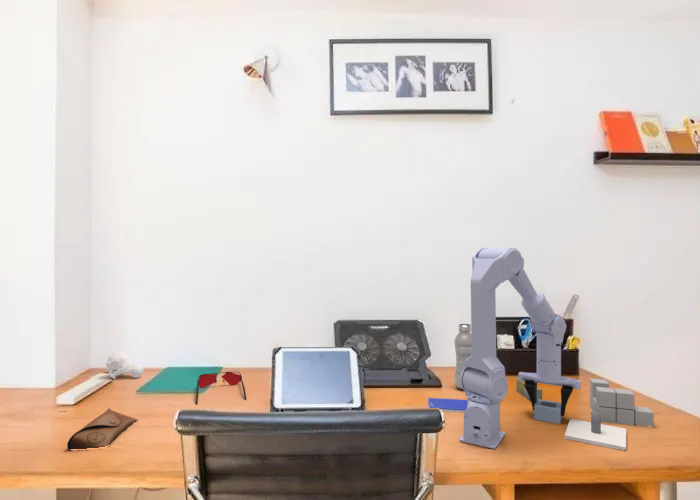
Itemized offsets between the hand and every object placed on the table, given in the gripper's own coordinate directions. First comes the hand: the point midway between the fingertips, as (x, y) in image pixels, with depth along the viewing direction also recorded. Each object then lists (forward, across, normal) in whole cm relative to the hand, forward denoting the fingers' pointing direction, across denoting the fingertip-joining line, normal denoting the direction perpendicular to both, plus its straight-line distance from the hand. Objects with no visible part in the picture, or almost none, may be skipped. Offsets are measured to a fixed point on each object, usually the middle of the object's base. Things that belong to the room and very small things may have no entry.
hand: (548, 412), depth 115 cm
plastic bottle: (+2, +26, -13) cm, 29 cm away
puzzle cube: (+2, -16, -11) cm, 19 cm away
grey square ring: (+1, 0, 0) cm, 1 cm away
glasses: (+2, +87, +31) cm, 92 cm away
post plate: (+1, -11, +6) cm, 13 cm away
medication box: (+2, +8, -15) cm, 17 cm away
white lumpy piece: (+2, +127, +36) cm, 132 cm away
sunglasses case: (+2, +86, +66) cm, 109 cm away
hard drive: (+2, +24, +5) cm, 25 cm away
